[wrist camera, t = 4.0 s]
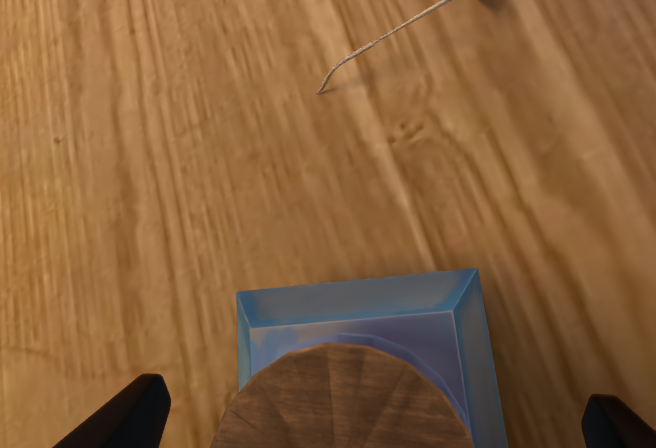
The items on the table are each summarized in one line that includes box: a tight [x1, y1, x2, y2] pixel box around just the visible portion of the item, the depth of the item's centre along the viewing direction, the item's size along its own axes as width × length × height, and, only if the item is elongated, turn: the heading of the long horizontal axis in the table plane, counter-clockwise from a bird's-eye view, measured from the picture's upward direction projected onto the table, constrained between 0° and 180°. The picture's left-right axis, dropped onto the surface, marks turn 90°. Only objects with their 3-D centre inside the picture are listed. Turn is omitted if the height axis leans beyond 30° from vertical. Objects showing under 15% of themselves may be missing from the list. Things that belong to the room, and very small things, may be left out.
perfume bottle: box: [210, 268, 508, 448], centre depth 11 cm, size 6×6×12 cm
